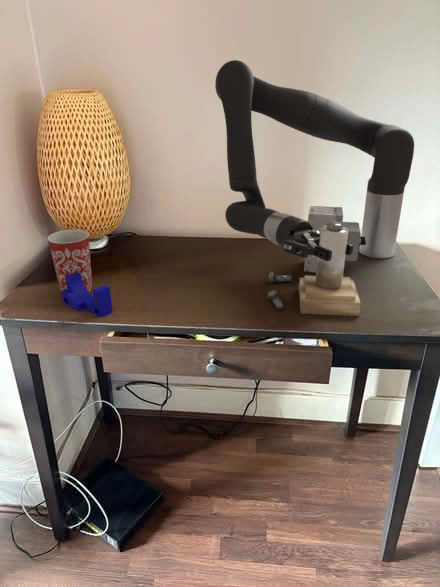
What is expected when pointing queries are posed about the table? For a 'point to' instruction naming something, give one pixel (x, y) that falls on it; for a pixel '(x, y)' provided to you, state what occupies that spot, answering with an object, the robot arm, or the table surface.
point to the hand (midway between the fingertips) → (341, 253)
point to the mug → (71, 256)
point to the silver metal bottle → (335, 241)
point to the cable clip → (86, 296)
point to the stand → (328, 298)
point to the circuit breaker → (320, 218)
